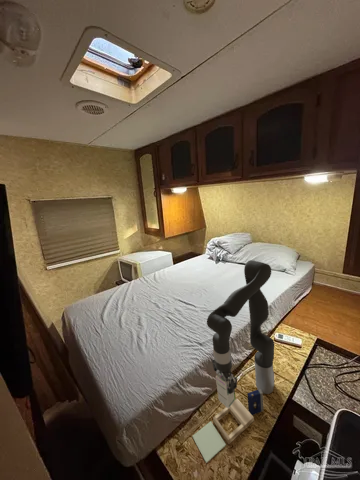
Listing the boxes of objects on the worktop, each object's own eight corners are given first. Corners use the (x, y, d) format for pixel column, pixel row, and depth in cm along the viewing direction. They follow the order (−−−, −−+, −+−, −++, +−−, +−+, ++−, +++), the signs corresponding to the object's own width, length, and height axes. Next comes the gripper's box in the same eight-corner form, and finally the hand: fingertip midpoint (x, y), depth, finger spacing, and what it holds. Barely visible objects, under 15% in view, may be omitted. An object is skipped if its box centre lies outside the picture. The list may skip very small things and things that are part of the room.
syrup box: (228, 409, 87) (226, 384, 83) (218, 400, 91) (215, 375, 88) (235, 399, 90) (233, 374, 87) (225, 391, 95) (222, 367, 91)
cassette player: (250, 415, 97) (249, 397, 94) (248, 411, 99) (247, 392, 96) (264, 410, 98) (263, 392, 95) (261, 406, 100) (260, 387, 98)
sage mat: (210, 421, 97) (210, 421, 96) (226, 445, 87) (226, 444, 87) (192, 436, 92) (192, 436, 92) (206, 463, 82) (206, 462, 82)
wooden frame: (237, 401, 104) (237, 398, 103) (253, 420, 95) (253, 417, 94) (213, 421, 97) (212, 417, 96) (228, 444, 87) (228, 440, 87)
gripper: (241, 363, 80) (243, 394, 84) (218, 342, 93) (221, 370, 97) (227, 373, 77) (230, 405, 81) (205, 350, 89) (209, 378, 93)
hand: (225, 386), depth 89 cm, fingers closed on syrup box, 6 cm apart
